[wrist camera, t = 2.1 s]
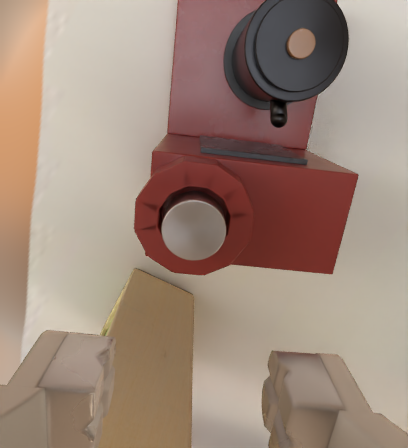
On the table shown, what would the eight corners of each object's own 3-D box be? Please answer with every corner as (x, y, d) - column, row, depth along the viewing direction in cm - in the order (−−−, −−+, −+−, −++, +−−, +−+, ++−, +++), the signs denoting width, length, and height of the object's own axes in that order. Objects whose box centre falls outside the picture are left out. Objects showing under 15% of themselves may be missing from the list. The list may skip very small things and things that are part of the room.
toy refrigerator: (127, 261, 34) (27, 493, 14) (195, 293, 35) (194, 547, 15) (94, 324, 36) (-32, 602, 16) (160, 352, 37) (118, 641, 17)
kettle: (322, -6, 24) (380, -54, 17) (296, 126, 27) (335, 136, 19) (241, -17, 24) (262, -72, 16) (224, 117, 27) (235, 124, 19)
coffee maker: (297, 146, 30) (375, 181, 17) (284, 212, 32) (345, 290, 19) (164, 130, 30) (137, 154, 16) (158, 198, 32) (131, 270, 18)
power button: (227, 193, 18) (230, 203, 16) (219, 249, 19) (221, 263, 17) (166, 187, 17) (163, 196, 16) (162, 243, 18) (158, 257, 17)
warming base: (325, 6, 27) (407, -53, 16) (297, 146, 30) (350, 170, 20) (181, -15, 26) (171, -89, 16) (169, 130, 30) (154, 147, 19)
